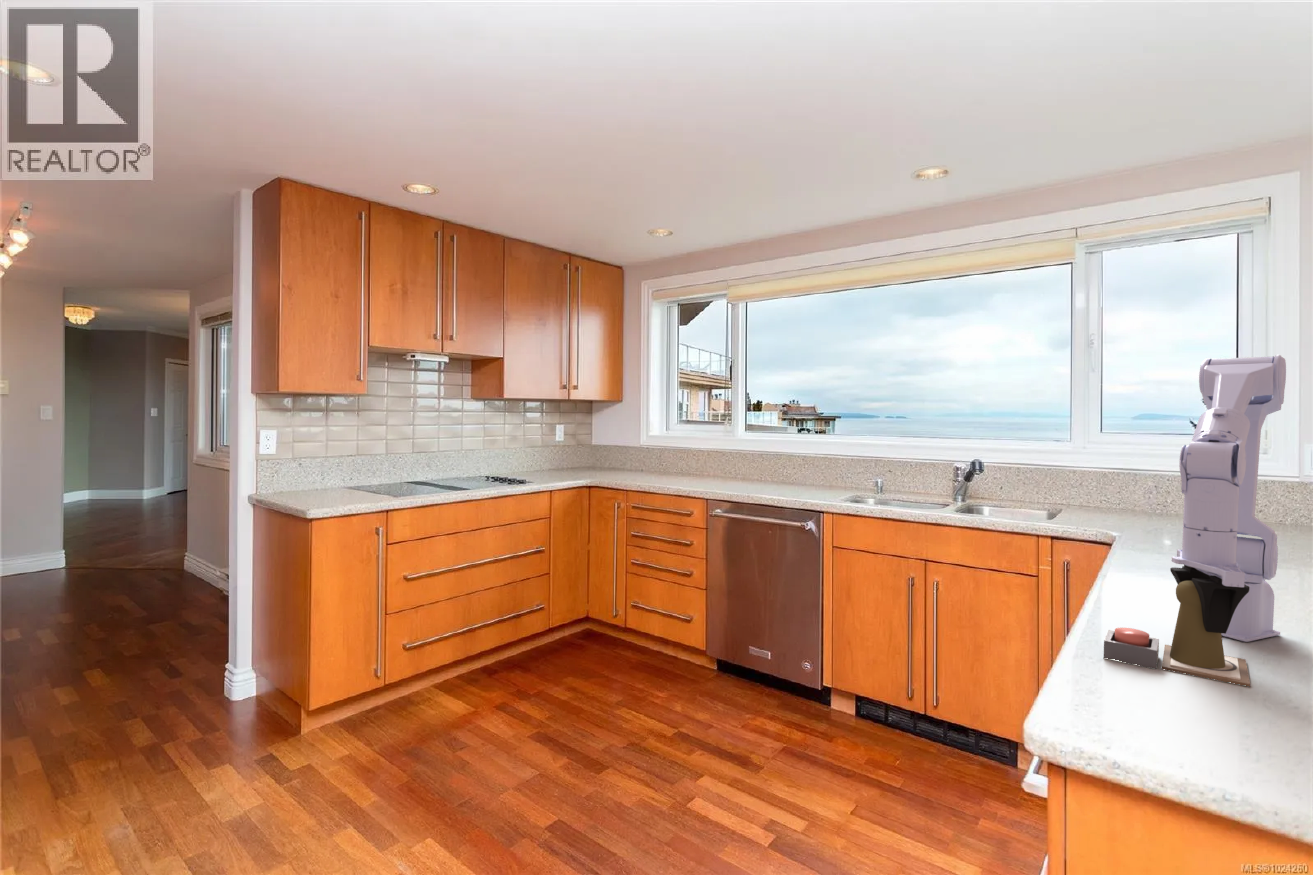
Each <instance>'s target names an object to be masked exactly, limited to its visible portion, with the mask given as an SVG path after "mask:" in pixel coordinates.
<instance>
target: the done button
mask: <svg viewBox="0 0 1313 875" xmlns="http://www.w3.org/2000/svg"><path fill="white" fill-rule="evenodd" d="M1114 631H1115V641H1116V642H1121V643H1127V644H1132V645H1137V646H1143V647H1149V637H1150V634H1149V633H1148V632H1146V631H1143V630H1141V629H1135V628H1131V627H1116V628H1115V629H1114Z"/></svg>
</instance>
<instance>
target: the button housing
mask: <svg viewBox="0 0 1313 875" xmlns="http://www.w3.org/2000/svg"><path fill="white" fill-rule="evenodd" d="M1159 646H1160V639H1159V638H1156V637H1150V636H1149V647H1143V646H1137V645H1132V644H1127V643H1121V642H1116V641H1115V630H1111V629H1108V631H1107V632H1106V635H1105V637H1104V640H1103V659H1104V658H1108V659H1115V660H1119V661H1122V662H1121V663H1123V662H1126V663H1125V664H1128V663H1129V664H1128V665H1133V664H1137V665H1136V666H1138V665H1140V666H1139V667H1142V666H1143V668H1147V667H1148V668H1147V669H1152V668H1155V669H1154V670H1157V667H1158V660H1159V652H1160V650H1159V648H1160V647H1159ZM1108 659H1107V660H1108Z"/></svg>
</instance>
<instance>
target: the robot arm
mask: <svg viewBox="0 0 1313 875" xmlns="http://www.w3.org/2000/svg"><path fill="white" fill-rule="evenodd" d="M1198 374H1199V375H1198V376H1199V377H1198V385H1199V391H1200V393H1201V396H1202V399H1203V402H1204V405H1205V406H1206V411H1204V412H1203V413H1202V414H1201V415H1200V416H1199V418H1198V419H1197V420H1198V421H1197V424H1196V427H1195V428H1194V429H1195V430H1194V432H1193V435H1192V439H1191V441H1190V442H1189V444H1187V445H1186V444H1183V445H1182V446H1181V450H1180V454H1179V460H1178V461H1179V473H1180V479H1181V483H1180V484H1181V486H1180V488H1181V489H1180V490H1181V494H1183V496H1184V497H1183V518H1182V519H1183V520H1182V543H1181V544H1182V545H1181V546H1182V547H1181V548H1180V549H1176V556H1171V562H1172V563H1174V564H1176V565H1182V567H1176V566H1174V567H1170V573H1171V575H1172V576H1173V579H1174V580H1175V581H1176V584H1177V585H1178V584H1179V583H1180V582H1183V581H1192V582H1193V583H1194V585H1195V587H1196V589H1197V592H1198V594H1199V598H1200V602H1201V607H1202V617H1203V624H1204V628H1205V630H1206V631H1207V632H1213V633H1221V635H1222V636H1223V637H1226V638H1230V639H1234V640H1237V641H1241V642H1245V643H1246V642H1247V643H1248V642H1253V641H1257V640H1261V639H1266V638H1270V637H1275V636H1279V635H1280V636H1281V631H1279V630H1275V629H1274V613H1275V593H1274V590H1273V588H1272V586H1271V585H1270V584H1269V582H1267V581H1271V580H1272V579H1274V578H1275V577H1276V574H1277V569H1278V559H1279V558H1278V557H1279V553H1278V552H1279V549H1278V548H1279V547H1278V535H1277V534H1276V531H1275V530H1274V528H1273V527H1271V526H1269V525H1267V524H1266V523H1265V522H1263V521H1262V520H1260V519H1259V518H1258V517H1256V505H1257V504H1256V502H1257V492H1258V491H1257V488H1258V478H1259V464H1260V462H1259V461H1260V450H1261V448H1260V446H1261V437H1262V436H1261V434H1262V428H1263V425H1264V423H1265V421H1266V418H1267V416H1268V415H1271V414H1273V413H1275V412H1276V413H1277V412H1278V411H1281V410H1282V405H1283V404H1284V402H1285V400H1284V399H1285V390H1286V382H1287V381H1286V378H1287V362H1286V358H1284V357H1283V356H1282V355H1281V354H1276V355H1273V356H1251V357H1249V356H1248V357H1247V356H1245V357H1228V358H1226V357H1225V358H1211V357H1209V358H1207V357H1206V358H1205V359H1204V360H1203V361H1202V362H1201V364H1200V367H1199V373H1198ZM1238 535H1243V536H1238ZM1244 535H1245V536H1253V537H1258V538H1253V537H1244ZM1266 580H1267V581H1266Z"/></svg>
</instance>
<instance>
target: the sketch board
mask: <svg viewBox="0 0 1313 875" xmlns="http://www.w3.org/2000/svg"><path fill="white" fill-rule="evenodd" d="M1171 646H1172V645H1169V644H1164V649H1163V656H1162V662H1161V670H1163V669H1165V670H1164V671H1168V670H1170V671H1169V672H1173V671H1175V672H1174V673H1179V674H1183V673H1186V674H1185V675H1188V674H1190V675H1189V676H1192V675H1194V676H1193V677H1197V676H1198V678H1203V679H1207V678H1209V679H1208V680H1212V679H1215V680H1214V681H1217V680H1218V681H1217V682H1222V681H1223V682H1222V683H1227V682H1231V683H1230V684H1232V683H1235V684H1234V685H1237V684H1240V685H1239V686H1242V685H1246V686H1245V687H1247V686H1249V687H1248V688H1251V681H1250V676H1249V669H1248V666H1247V660H1246V659H1245V658H1242V657H1241V658H1240V657H1234V656H1229V655H1225V654H1224V658H1225V666H1226V667H1224V668H1220V669H1210V668H1202V667H1196V666H1192V665H1188V664H1184V663H1181V662H1179V661H1176V660H1174V659H1172V658H1171V657H1170V651H1171Z"/></svg>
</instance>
